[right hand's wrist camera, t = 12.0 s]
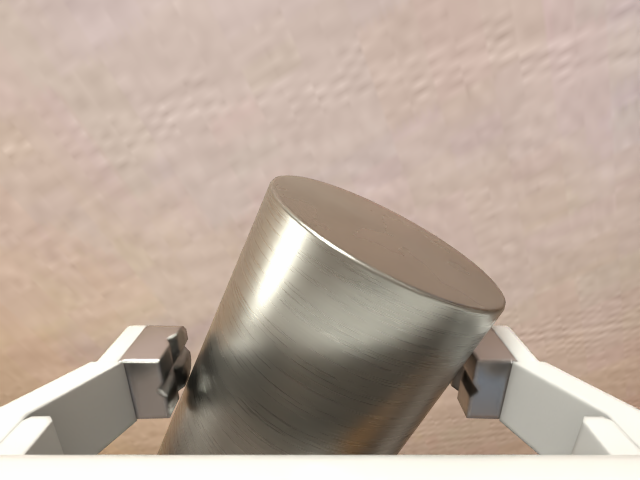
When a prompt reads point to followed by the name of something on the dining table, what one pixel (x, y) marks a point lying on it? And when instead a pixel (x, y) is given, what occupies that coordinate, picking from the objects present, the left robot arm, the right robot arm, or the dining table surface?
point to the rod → (331, 331)
